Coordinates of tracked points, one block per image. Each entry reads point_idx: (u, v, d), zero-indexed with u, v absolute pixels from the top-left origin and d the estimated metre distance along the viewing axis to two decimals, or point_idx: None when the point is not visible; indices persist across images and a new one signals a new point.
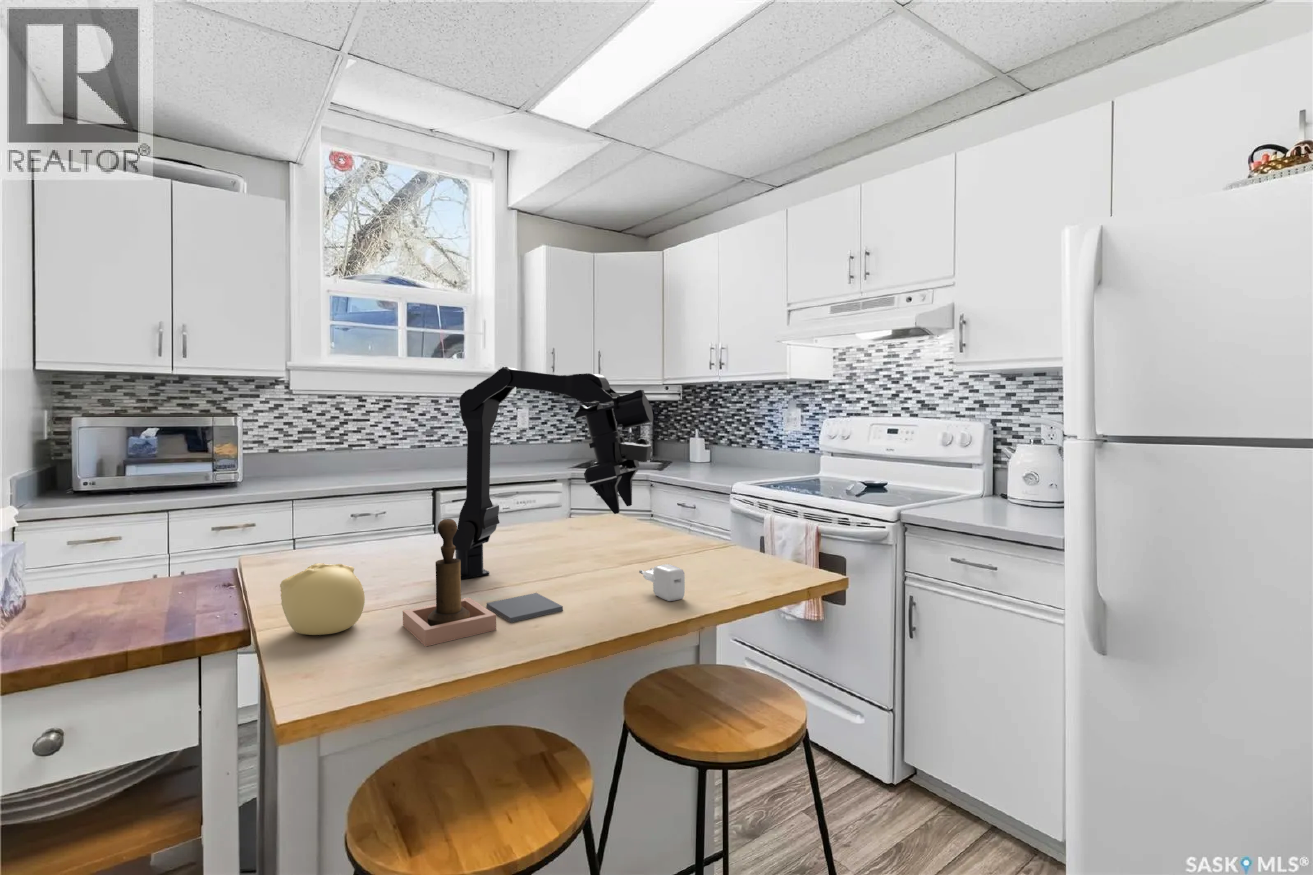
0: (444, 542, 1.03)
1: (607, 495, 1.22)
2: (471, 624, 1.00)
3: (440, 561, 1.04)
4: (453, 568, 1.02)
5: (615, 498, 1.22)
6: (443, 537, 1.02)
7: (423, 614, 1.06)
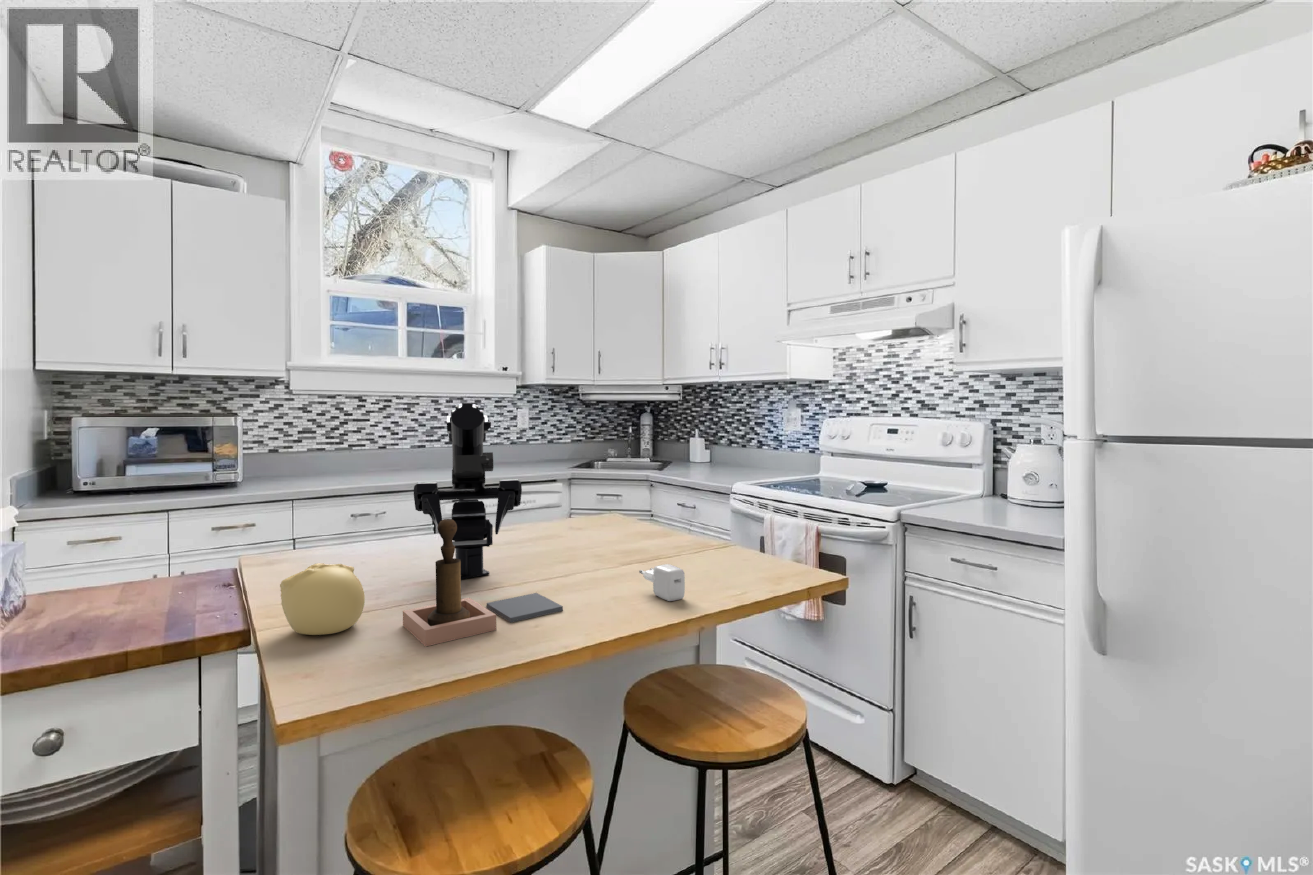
0: (444, 542, 1.03)
1: (435, 519, 1.12)
2: (471, 624, 1.00)
3: (440, 561, 1.04)
4: (453, 568, 1.02)
5: (436, 520, 1.11)
6: (443, 537, 1.02)
7: (423, 614, 1.06)
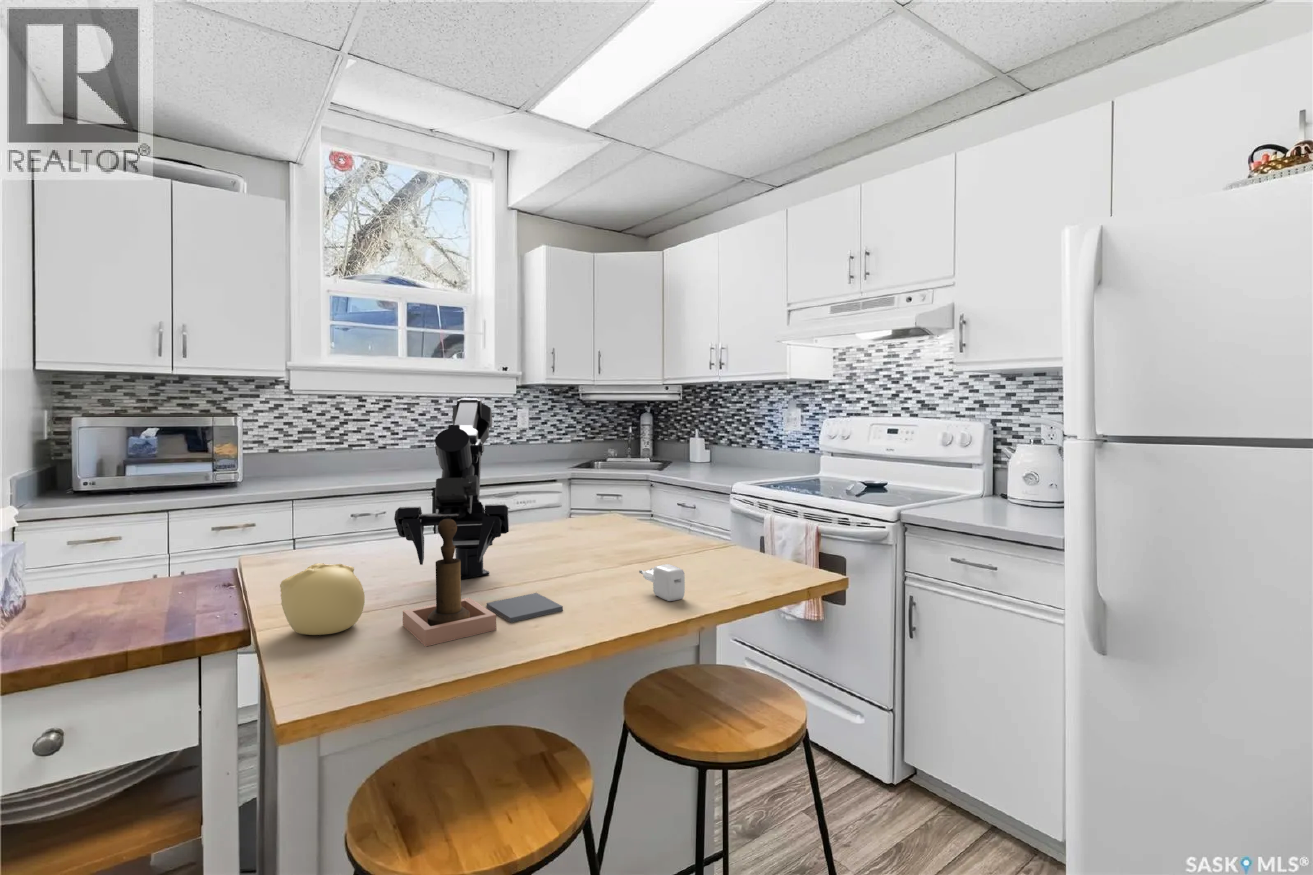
0: (444, 542, 1.02)
1: None
2: (471, 624, 1.00)
3: (440, 561, 1.04)
4: (453, 568, 1.02)
5: (416, 546, 1.06)
6: (443, 537, 1.02)
7: (423, 614, 1.06)
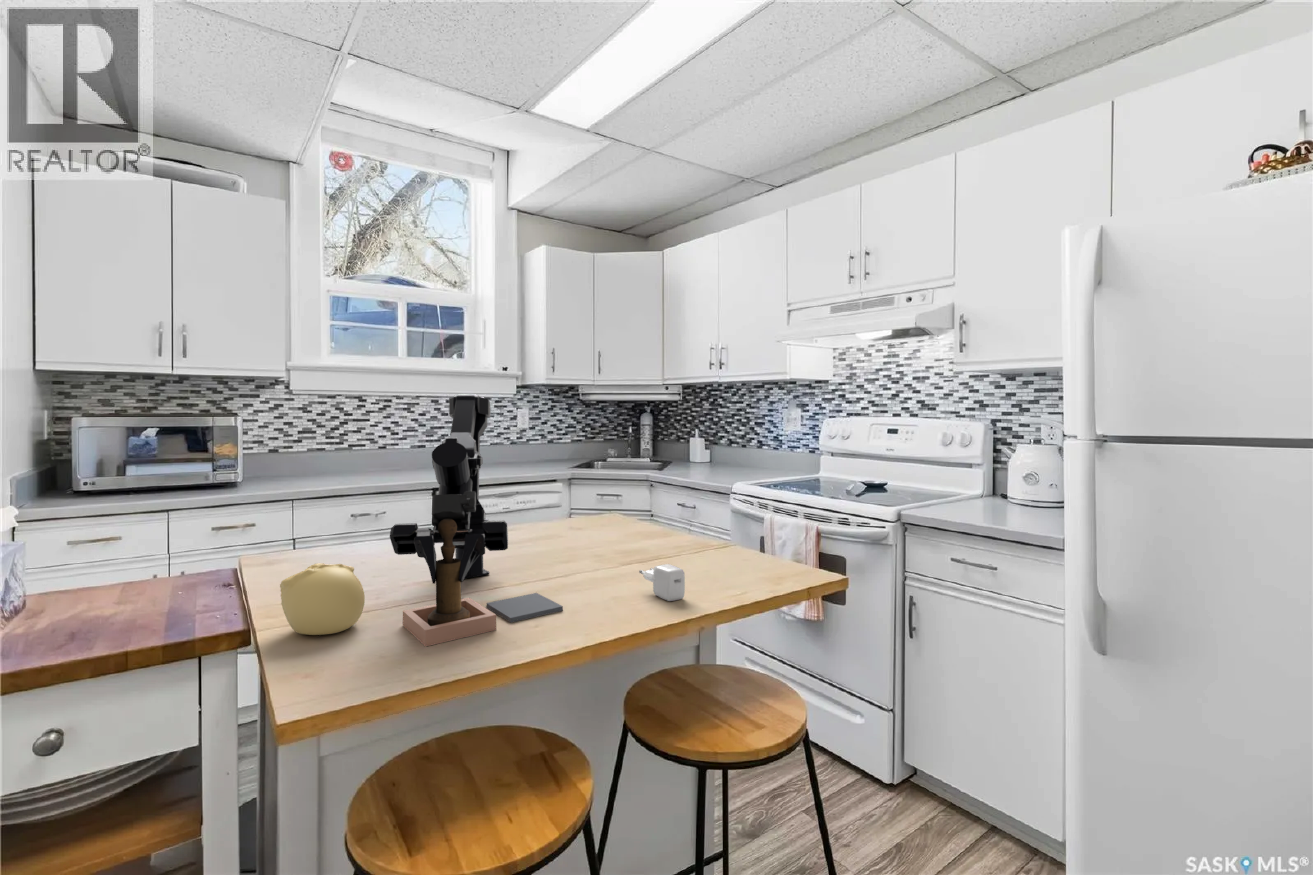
0: (444, 542, 1.02)
1: None
2: (471, 624, 1.00)
3: (440, 561, 1.04)
4: (453, 568, 1.02)
5: (429, 564, 1.03)
6: (443, 537, 1.02)
7: (423, 614, 1.06)
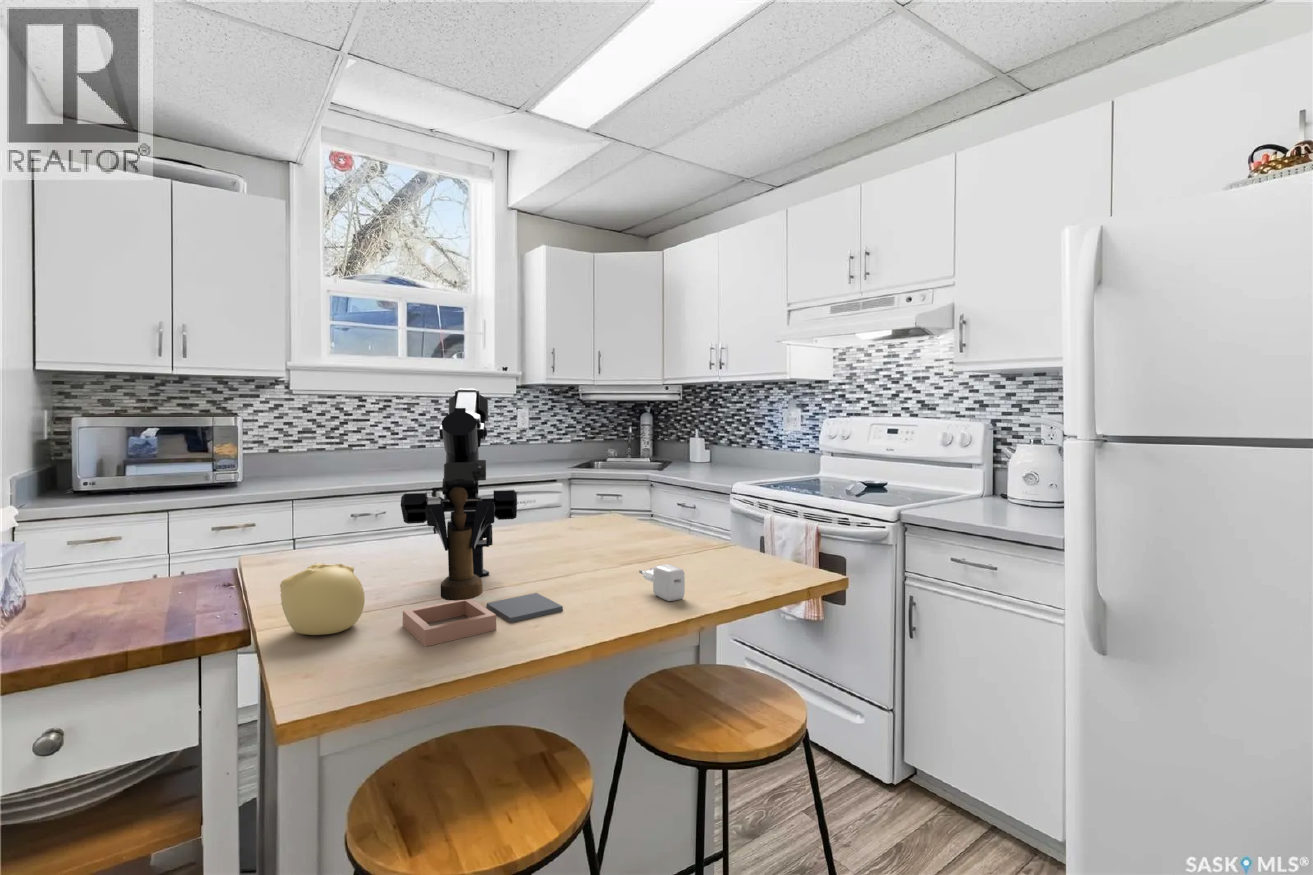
0: (455, 510, 1.03)
1: (439, 531, 1.05)
2: (471, 624, 1.00)
3: (451, 529, 1.05)
4: (465, 535, 1.03)
5: (440, 531, 1.03)
6: (454, 505, 1.03)
7: (423, 614, 1.06)
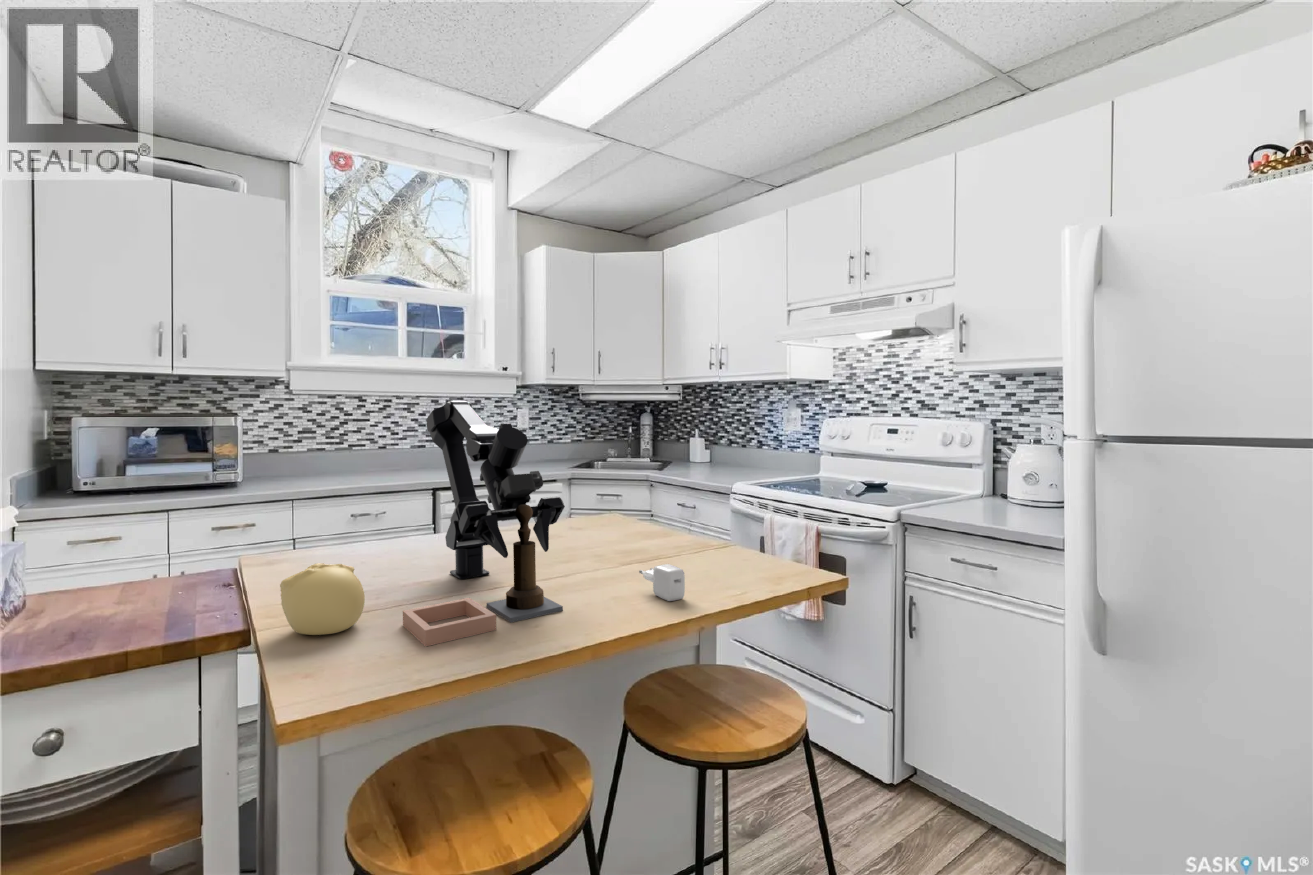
0: (523, 525, 1.12)
1: (492, 540, 1.11)
2: (471, 624, 1.00)
3: (515, 543, 1.13)
4: (533, 548, 1.12)
5: (498, 540, 1.10)
6: (523, 521, 1.12)
7: (423, 614, 1.06)
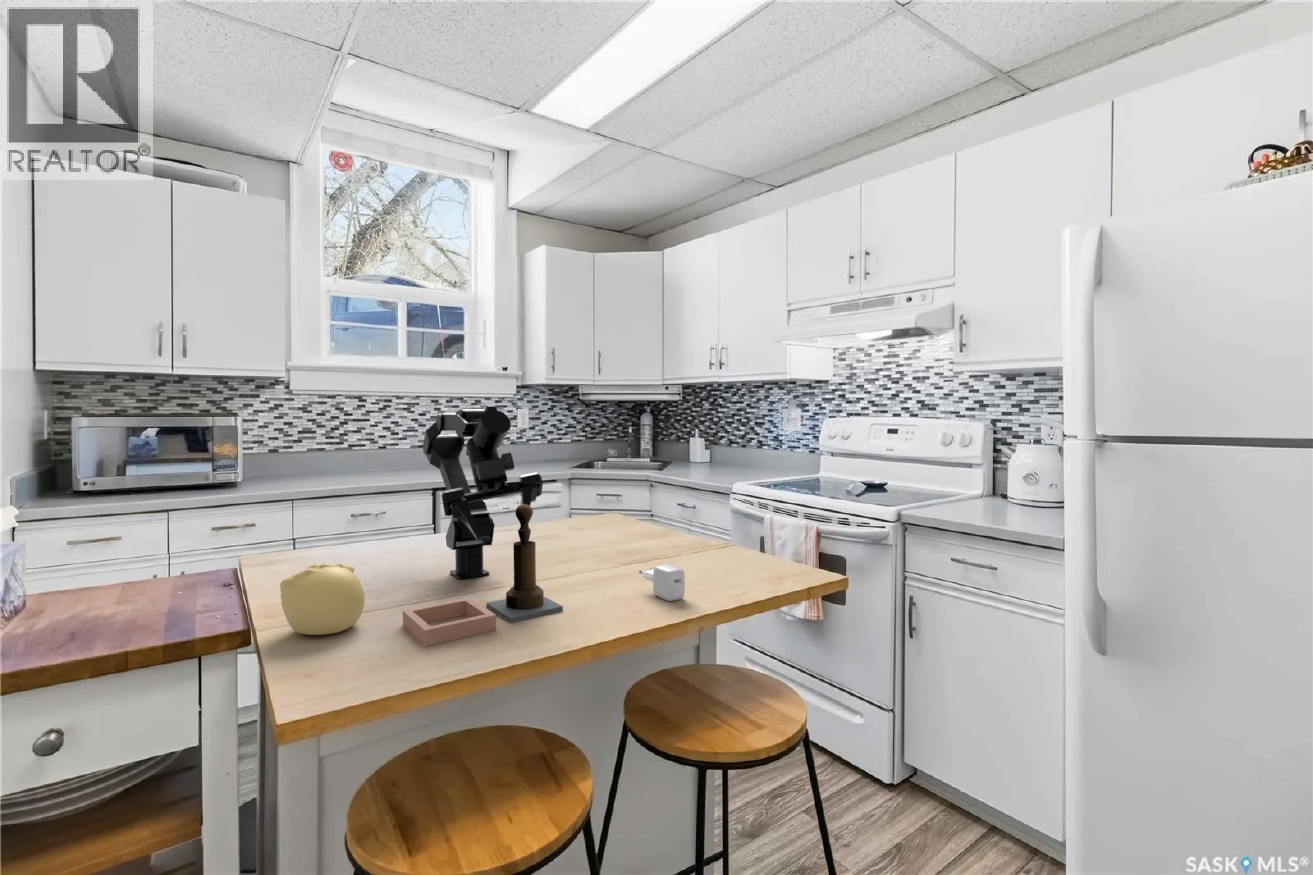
0: (523, 525, 1.12)
1: (467, 523, 1.18)
2: (471, 624, 1.00)
3: (515, 543, 1.13)
4: (533, 548, 1.12)
5: (469, 524, 1.17)
6: (523, 521, 1.12)
7: (423, 614, 1.06)
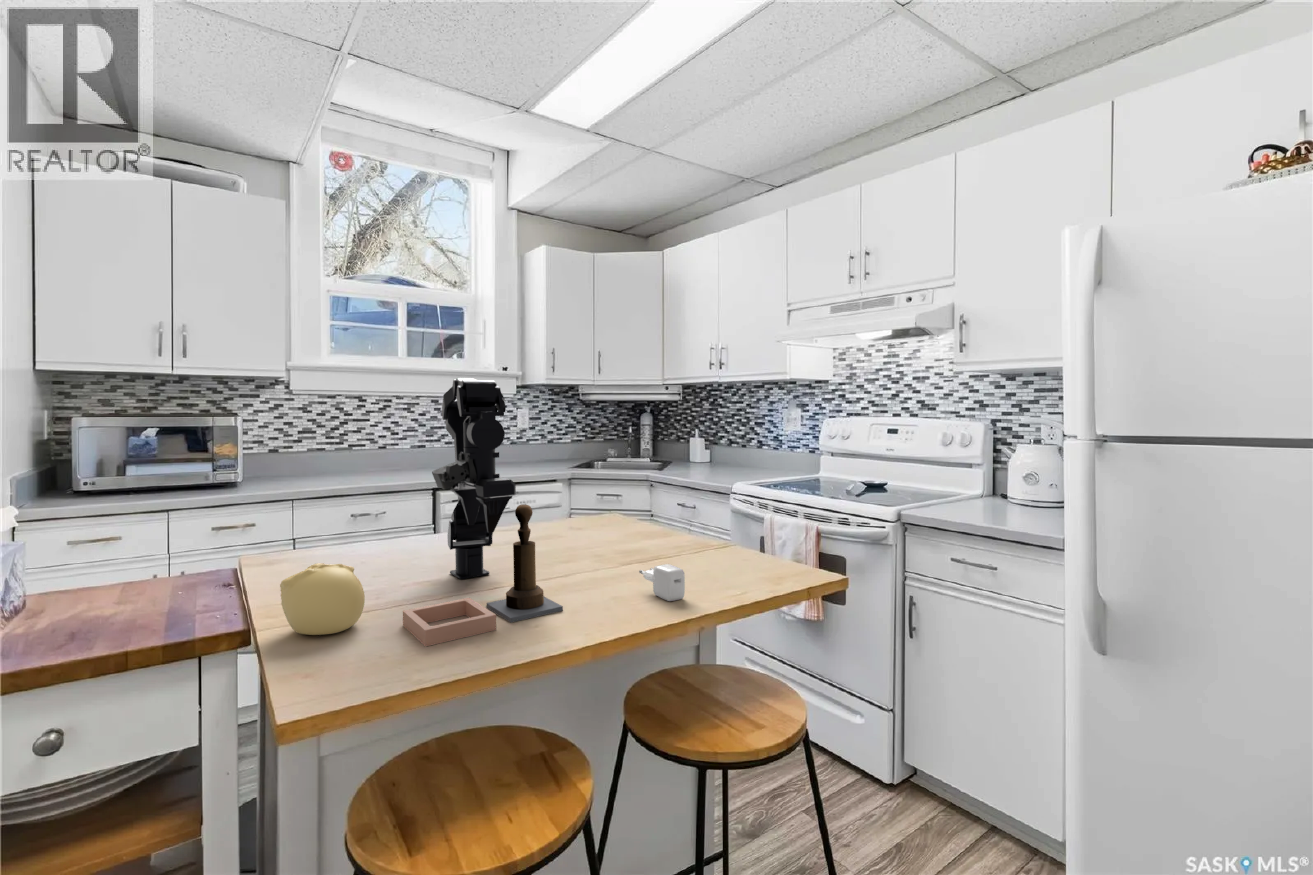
0: (522, 525, 1.12)
1: None
2: (471, 624, 1.00)
3: (515, 543, 1.13)
4: (533, 548, 1.12)
5: None
6: (523, 521, 1.12)
7: (423, 614, 1.06)
